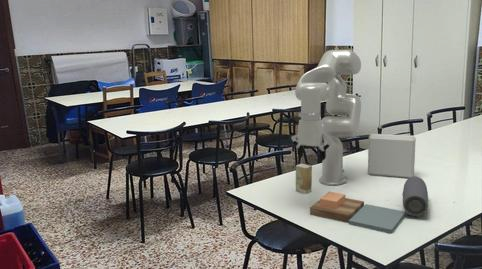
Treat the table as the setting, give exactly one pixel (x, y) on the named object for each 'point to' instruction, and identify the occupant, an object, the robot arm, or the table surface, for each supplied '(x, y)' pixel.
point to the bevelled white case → (391, 155)
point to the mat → (377, 218)
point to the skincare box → (303, 178)
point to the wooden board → (338, 210)
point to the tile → (332, 200)
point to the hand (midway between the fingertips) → (311, 158)
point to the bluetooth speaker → (415, 196)
